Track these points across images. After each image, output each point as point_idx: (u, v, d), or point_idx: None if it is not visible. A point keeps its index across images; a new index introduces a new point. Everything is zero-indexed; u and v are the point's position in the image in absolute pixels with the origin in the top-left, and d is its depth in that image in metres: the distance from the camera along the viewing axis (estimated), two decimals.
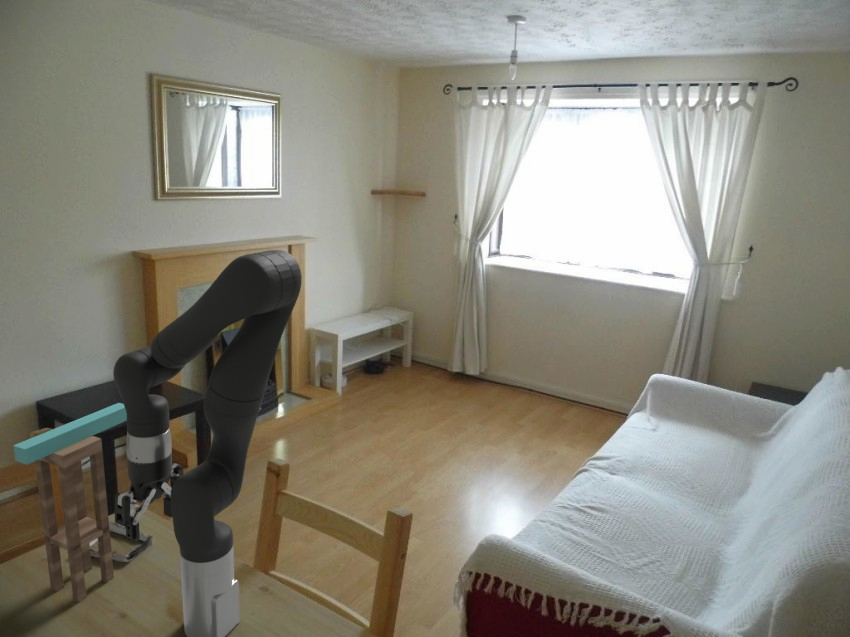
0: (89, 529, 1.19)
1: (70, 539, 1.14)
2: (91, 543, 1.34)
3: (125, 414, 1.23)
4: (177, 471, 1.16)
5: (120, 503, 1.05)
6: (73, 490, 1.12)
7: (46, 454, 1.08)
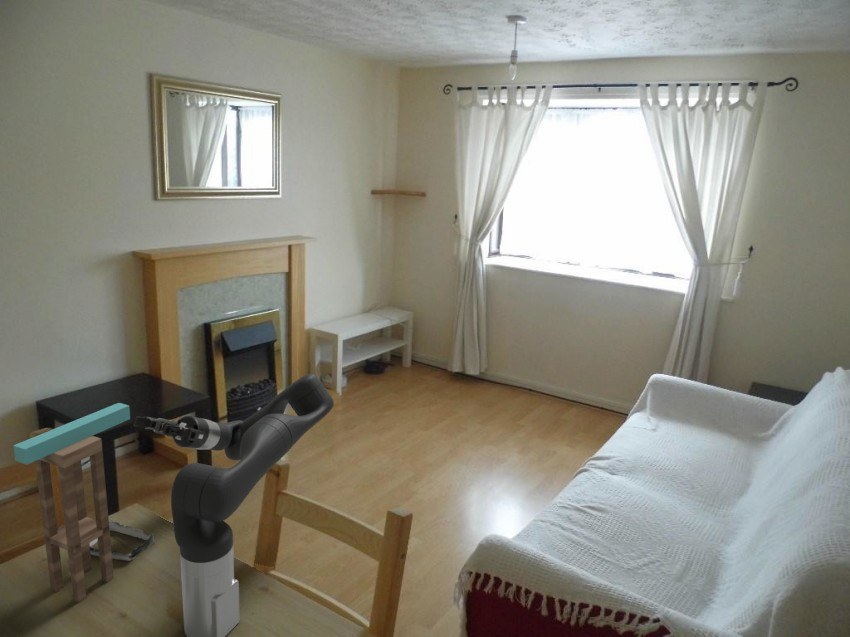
0: (89, 529, 1.19)
1: (70, 539, 1.14)
2: (93, 542, 1.34)
3: (125, 414, 1.23)
4: (159, 428, 1.42)
5: (200, 437, 1.38)
6: (73, 490, 1.12)
7: (46, 454, 1.08)
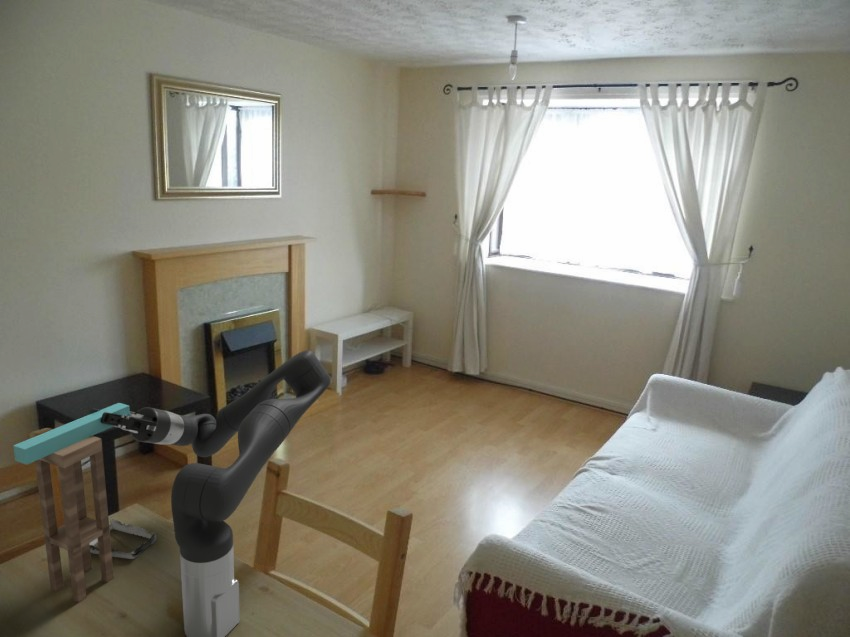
0: (89, 529, 1.19)
1: (70, 539, 1.14)
2: (95, 541, 1.35)
3: (125, 414, 1.23)
4: None
5: (150, 428, 1.24)
6: (73, 490, 1.12)
7: (46, 454, 1.08)
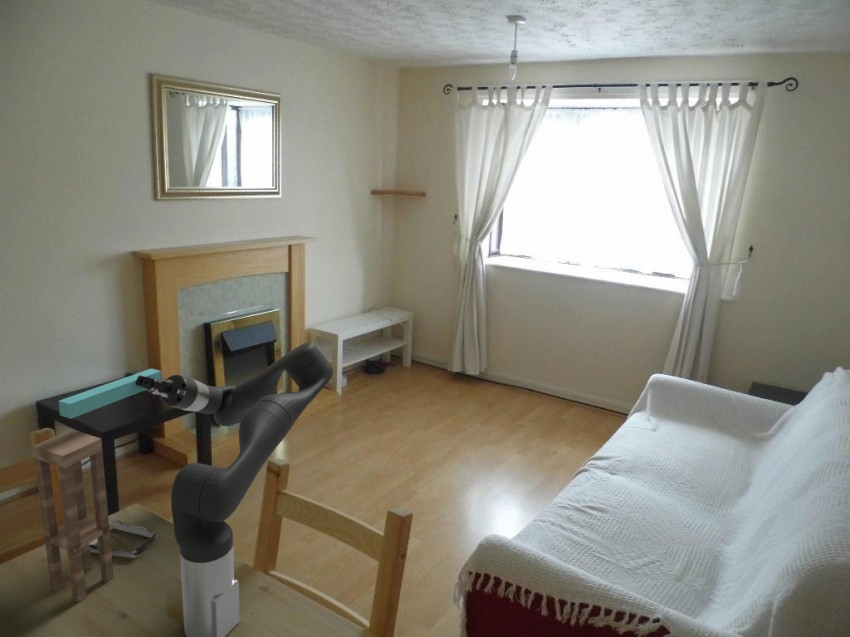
0: (89, 529, 1.19)
1: (70, 539, 1.14)
2: (96, 541, 1.35)
3: (157, 379, 1.32)
4: None
5: (180, 392, 1.33)
6: (73, 490, 1.12)
7: (88, 410, 1.17)
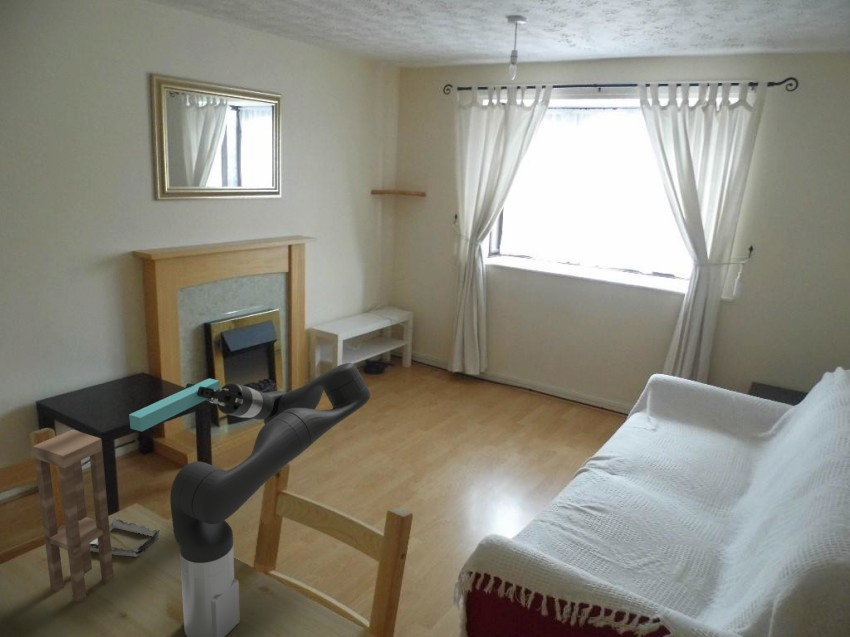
0: (89, 529, 1.19)
1: (70, 539, 1.14)
2: (97, 540, 1.35)
3: (216, 388, 1.35)
4: None
5: (238, 401, 1.36)
6: (73, 490, 1.12)
7: (156, 422, 1.20)
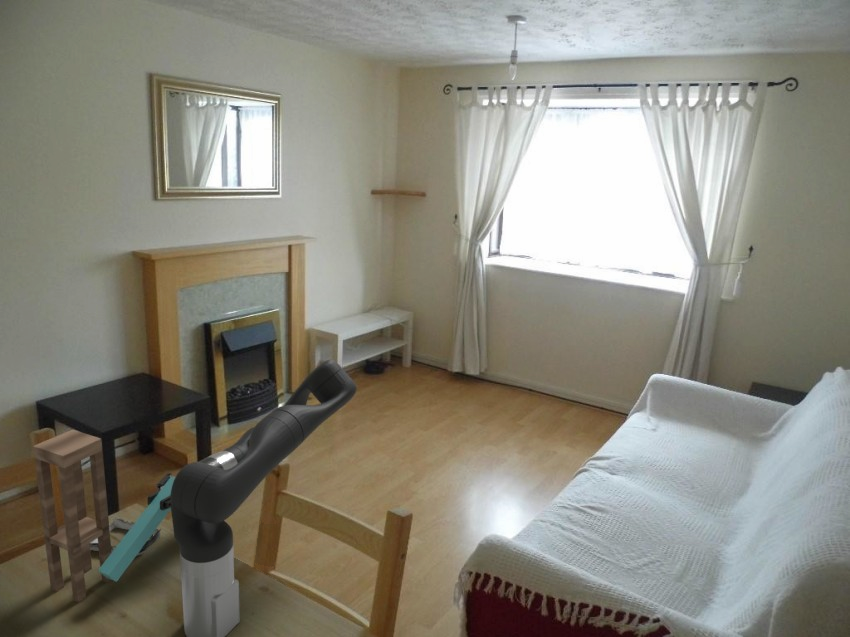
0: (89, 529, 1.19)
1: (70, 539, 1.14)
2: None
3: None
4: None
5: None
6: (73, 490, 1.12)
7: (128, 563, 1.20)
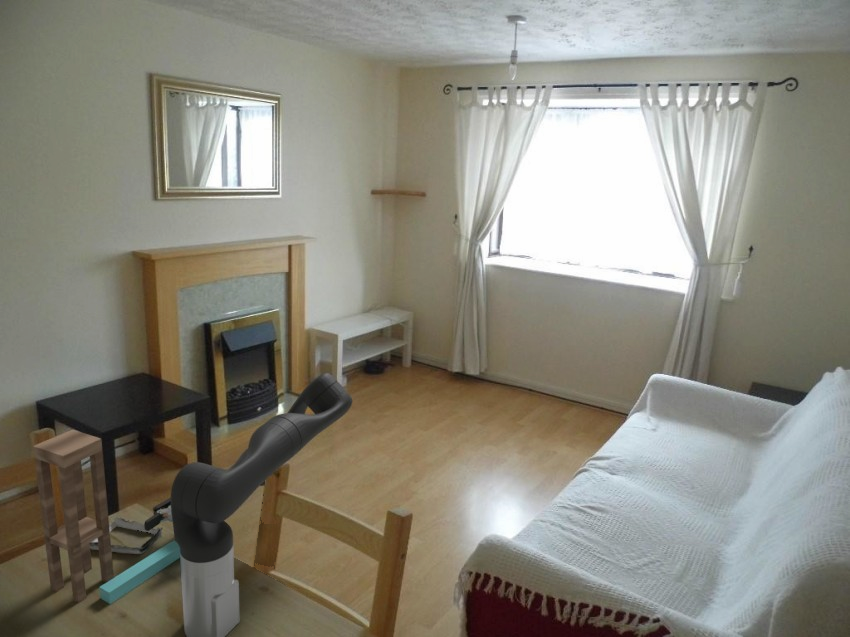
0: (89, 529, 1.19)
1: (70, 539, 1.14)
2: None
3: None
4: None
5: None
6: (73, 490, 1.12)
7: None
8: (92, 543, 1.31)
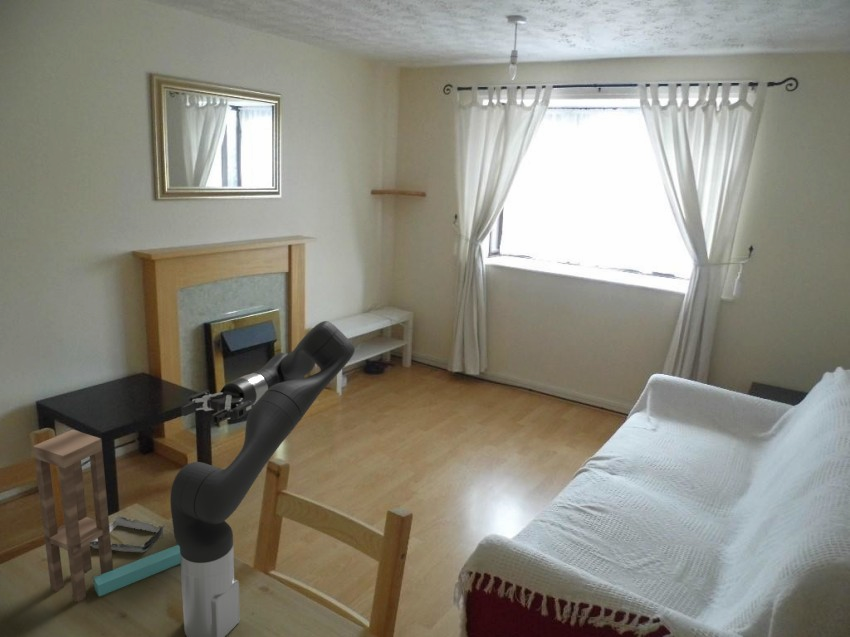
0: (89, 529, 1.19)
1: (70, 539, 1.14)
2: None
3: None
4: (207, 400, 1.43)
5: (248, 408, 1.38)
6: (73, 490, 1.12)
7: (118, 588, 1.21)
8: (94, 542, 1.32)
